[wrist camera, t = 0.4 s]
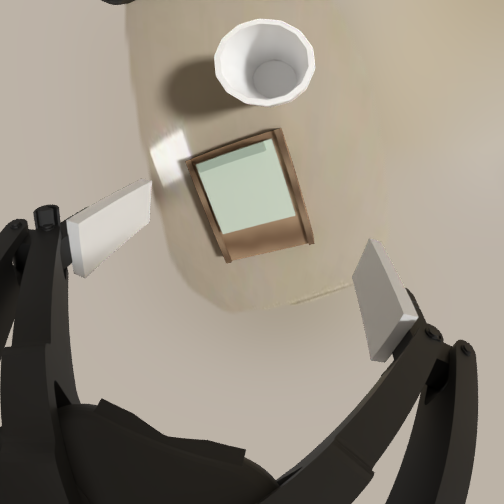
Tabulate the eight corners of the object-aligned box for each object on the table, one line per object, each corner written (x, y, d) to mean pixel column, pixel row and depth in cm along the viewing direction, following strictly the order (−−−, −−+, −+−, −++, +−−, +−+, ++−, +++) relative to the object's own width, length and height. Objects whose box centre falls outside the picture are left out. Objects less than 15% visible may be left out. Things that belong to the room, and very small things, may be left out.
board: (191, 158, 39) (185, 161, 36) (281, 128, 35) (280, 128, 32) (230, 255, 45) (226, 263, 43) (313, 236, 41) (314, 243, 39)
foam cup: (239, 53, 30) (211, 25, 19) (305, 48, 28) (308, 16, 17) (244, 114, 34) (219, 111, 23) (311, 110, 33) (318, 104, 21)
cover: (197, 163, 37) (190, 167, 34) (271, 138, 33) (269, 139, 31) (224, 232, 41) (219, 240, 38) (295, 213, 38) (295, 220, 35)
